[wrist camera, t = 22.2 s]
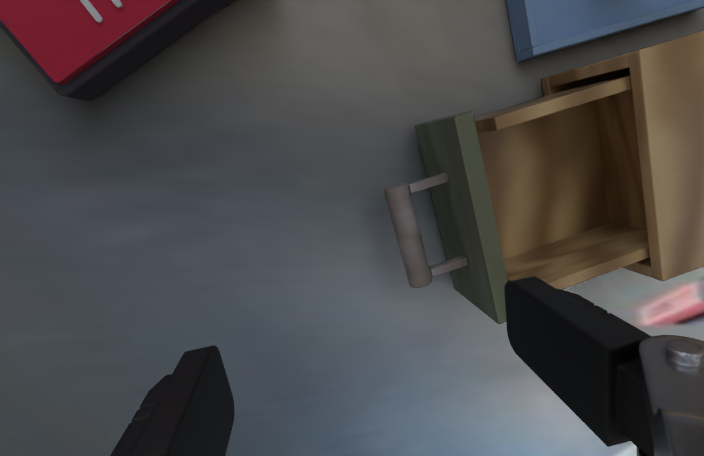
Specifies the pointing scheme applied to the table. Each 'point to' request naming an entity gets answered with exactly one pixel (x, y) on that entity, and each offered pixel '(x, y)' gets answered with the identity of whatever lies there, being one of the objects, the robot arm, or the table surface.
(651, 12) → the tray
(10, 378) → the table surface
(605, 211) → the drawer
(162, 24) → the calculator
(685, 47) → the cabinet
